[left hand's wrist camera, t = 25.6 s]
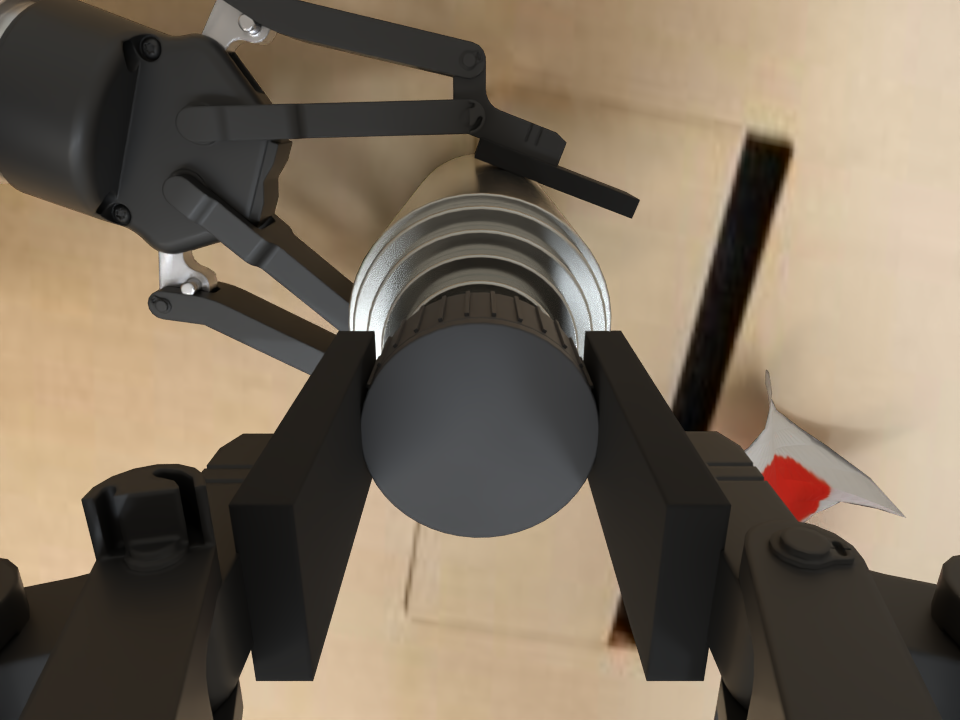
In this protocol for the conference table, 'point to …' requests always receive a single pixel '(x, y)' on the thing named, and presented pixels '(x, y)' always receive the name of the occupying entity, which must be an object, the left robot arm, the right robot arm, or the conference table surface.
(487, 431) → the cap
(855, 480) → the fish
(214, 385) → the conference table surface
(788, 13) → the conference table surface
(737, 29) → the conference table surface
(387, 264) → the bottle
